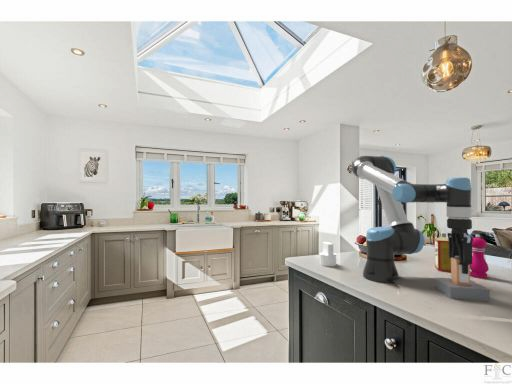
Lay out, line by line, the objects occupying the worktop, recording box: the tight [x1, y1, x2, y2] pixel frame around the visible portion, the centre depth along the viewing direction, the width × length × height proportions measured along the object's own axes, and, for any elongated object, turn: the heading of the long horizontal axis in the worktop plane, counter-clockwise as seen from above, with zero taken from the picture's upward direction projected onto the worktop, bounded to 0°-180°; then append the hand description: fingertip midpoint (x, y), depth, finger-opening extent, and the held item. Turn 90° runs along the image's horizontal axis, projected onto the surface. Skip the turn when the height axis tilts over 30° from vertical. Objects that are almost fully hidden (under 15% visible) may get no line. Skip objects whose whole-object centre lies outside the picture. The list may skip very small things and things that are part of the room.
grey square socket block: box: [435, 277, 490, 302], centre depth 100 cm, size 12×12×5 cm
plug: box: [450, 256, 471, 286], centre depth 100 cm, size 4×4×14 cm
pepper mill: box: [470, 233, 489, 279], centre depth 126 cm, size 7×7×20 cm
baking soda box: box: [434, 237, 451, 273], centre depth 139 cm, size 10×6×16 cm
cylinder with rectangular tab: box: [319, 241, 337, 267], centre depth 149 cm, size 9×9×12 cm
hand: (460, 280), depth 100 cm, fingers closed on plug, 4 cm apart
